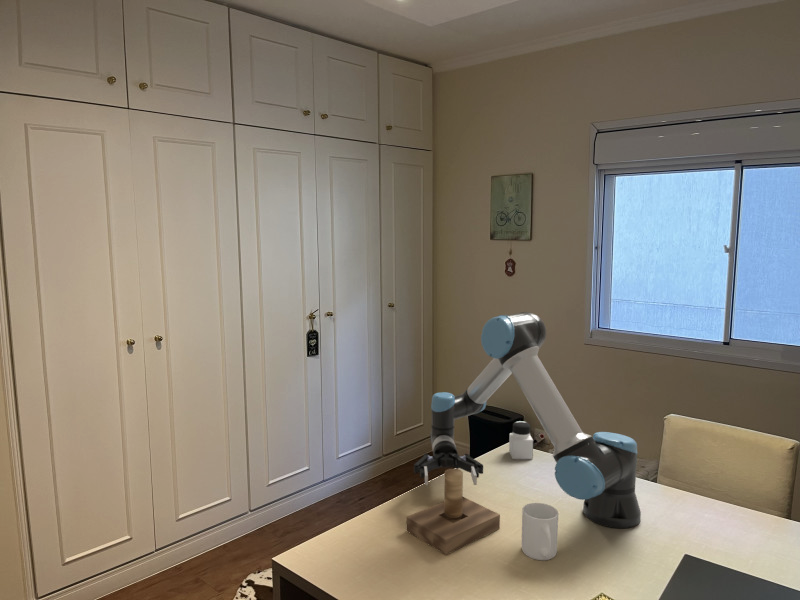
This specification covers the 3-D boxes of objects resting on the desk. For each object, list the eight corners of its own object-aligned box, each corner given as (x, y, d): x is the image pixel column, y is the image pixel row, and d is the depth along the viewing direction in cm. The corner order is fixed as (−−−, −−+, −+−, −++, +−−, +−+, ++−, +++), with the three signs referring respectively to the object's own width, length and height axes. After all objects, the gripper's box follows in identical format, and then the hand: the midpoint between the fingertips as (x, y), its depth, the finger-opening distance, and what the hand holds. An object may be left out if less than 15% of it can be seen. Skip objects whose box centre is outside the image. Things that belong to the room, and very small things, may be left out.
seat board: (499, 528, 156) (499, 514, 155) (445, 555, 143) (445, 539, 143) (459, 508, 167) (459, 495, 167) (406, 530, 155) (406, 516, 154)
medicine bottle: (532, 459, 203) (533, 426, 201) (512, 459, 203) (513, 426, 202) (528, 451, 210) (529, 419, 208) (508, 451, 210) (509, 419, 209)
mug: (530, 570, 137) (532, 527, 136) (517, 543, 149) (518, 503, 147) (566, 569, 137) (568, 526, 136) (550, 542, 149) (551, 502, 148)
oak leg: (466, 530, 155) (466, 472, 153) (453, 536, 152) (453, 477, 150) (453, 523, 159) (453, 467, 157) (440, 529, 156) (440, 471, 154)
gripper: (484, 462, 184) (495, 493, 163) (405, 462, 184) (406, 493, 163) (484, 440, 183) (495, 467, 162) (405, 440, 183) (406, 467, 162)
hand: (451, 480), depth 162 cm, fingers open, 13 cm apart
